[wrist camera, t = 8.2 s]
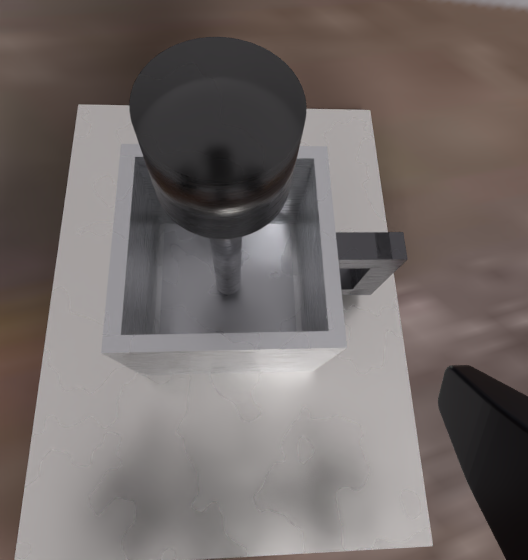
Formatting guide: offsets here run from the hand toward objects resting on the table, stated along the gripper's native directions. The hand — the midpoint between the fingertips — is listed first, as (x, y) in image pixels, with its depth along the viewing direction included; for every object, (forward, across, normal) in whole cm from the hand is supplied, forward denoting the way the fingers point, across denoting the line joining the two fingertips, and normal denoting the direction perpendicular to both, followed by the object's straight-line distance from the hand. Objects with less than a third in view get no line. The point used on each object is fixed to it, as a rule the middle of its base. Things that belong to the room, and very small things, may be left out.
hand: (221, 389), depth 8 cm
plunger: (+9, 0, +2) cm, 10 cm away
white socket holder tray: (+10, 0, +3) cm, 11 cm away
